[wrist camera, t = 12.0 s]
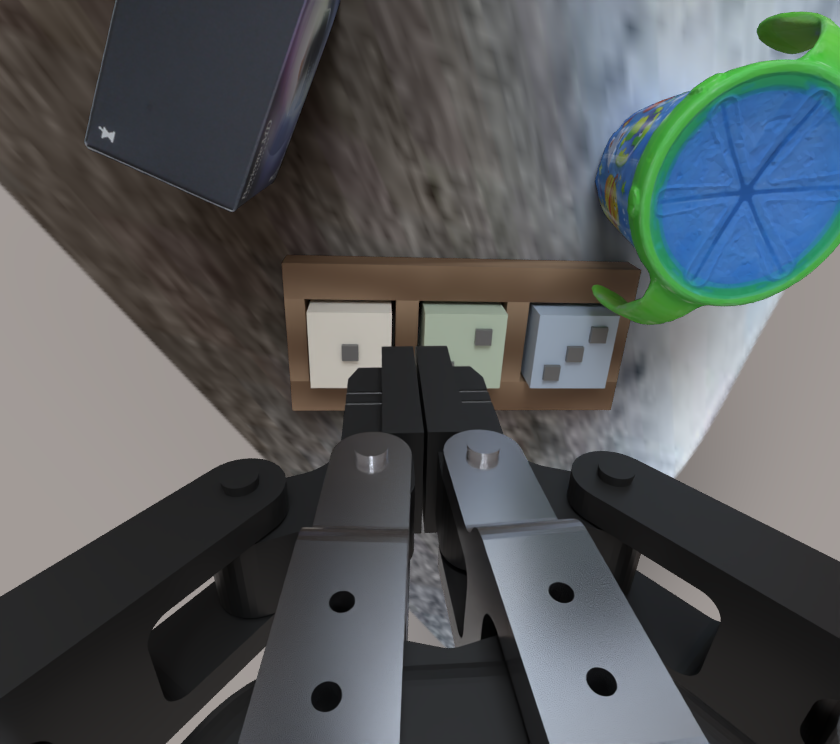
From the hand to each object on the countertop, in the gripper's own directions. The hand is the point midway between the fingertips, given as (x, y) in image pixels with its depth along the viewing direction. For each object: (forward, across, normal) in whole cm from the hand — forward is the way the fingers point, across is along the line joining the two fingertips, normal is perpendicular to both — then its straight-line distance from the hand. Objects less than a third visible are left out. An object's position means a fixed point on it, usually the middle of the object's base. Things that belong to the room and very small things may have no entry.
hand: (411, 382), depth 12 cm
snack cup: (+23, -16, -2) cm, 28 cm away
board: (+22, -4, +8) cm, 24 cm away
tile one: (+22, +3, +8) cm, 24 cm away
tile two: (+22, -4, +8) cm, 24 cm away
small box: (+23, +7, -7) cm, 25 cm away
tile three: (+22, -11, +9) cm, 26 cm away
